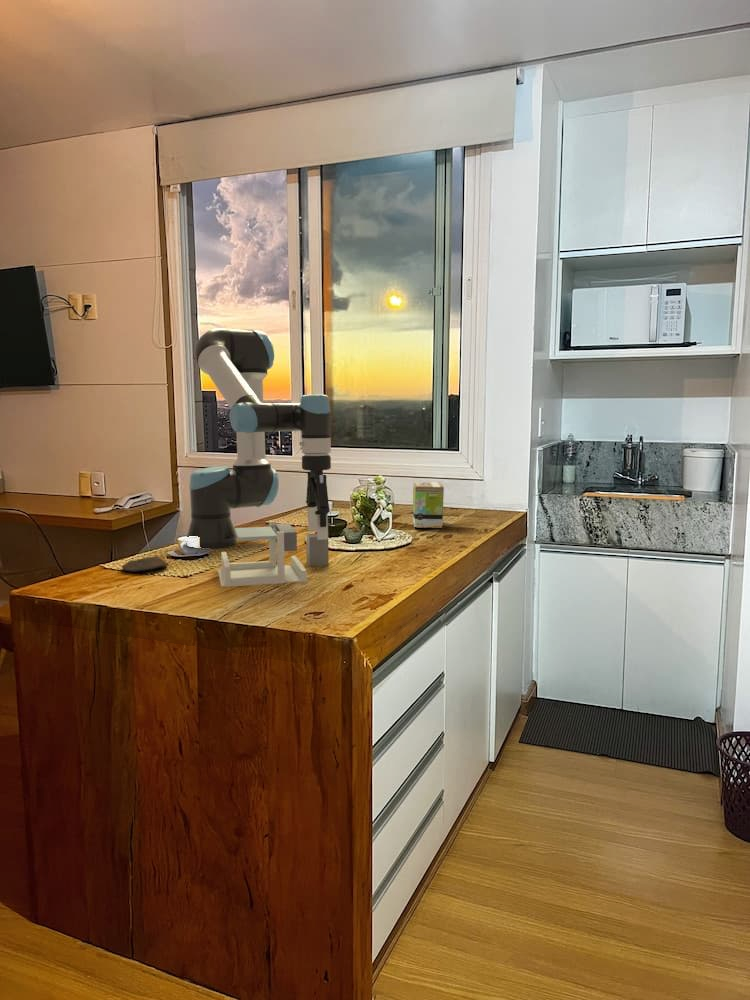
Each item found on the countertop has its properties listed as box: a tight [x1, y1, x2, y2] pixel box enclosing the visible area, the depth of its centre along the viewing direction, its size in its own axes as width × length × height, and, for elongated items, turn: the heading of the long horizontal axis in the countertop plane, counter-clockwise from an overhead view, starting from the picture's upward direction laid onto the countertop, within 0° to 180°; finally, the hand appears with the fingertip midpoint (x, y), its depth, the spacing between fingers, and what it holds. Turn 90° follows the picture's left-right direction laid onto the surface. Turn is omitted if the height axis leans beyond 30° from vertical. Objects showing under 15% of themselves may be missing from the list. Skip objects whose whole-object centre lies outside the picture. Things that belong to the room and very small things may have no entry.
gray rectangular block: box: [305, 532, 330, 567], centre depth 192 cm, size 5×5×8 cm
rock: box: [121, 555, 169, 572], centre depth 186 cm, size 11×12×3 cm
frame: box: [217, 520, 308, 588], centre depth 178 cm, size 18×20×12 cm
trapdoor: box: [234, 523, 298, 552], centre depth 178 cm, size 13×14×4 cm
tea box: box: [412, 481, 445, 528], centre depth 251 cm, size 15×10×15 cm
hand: (317, 535), depth 191 cm, fingers open, 13 cm apart
